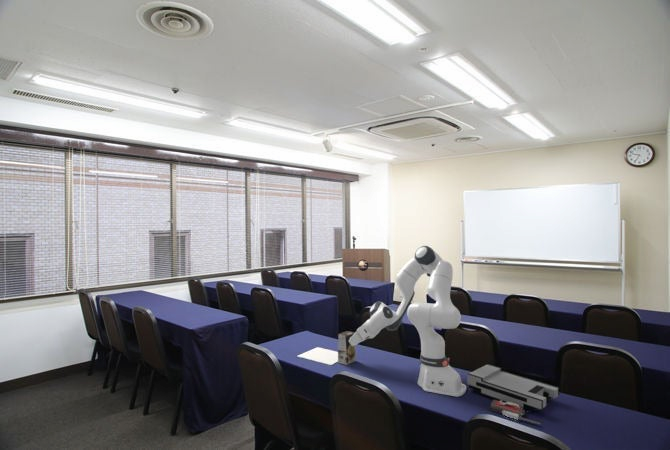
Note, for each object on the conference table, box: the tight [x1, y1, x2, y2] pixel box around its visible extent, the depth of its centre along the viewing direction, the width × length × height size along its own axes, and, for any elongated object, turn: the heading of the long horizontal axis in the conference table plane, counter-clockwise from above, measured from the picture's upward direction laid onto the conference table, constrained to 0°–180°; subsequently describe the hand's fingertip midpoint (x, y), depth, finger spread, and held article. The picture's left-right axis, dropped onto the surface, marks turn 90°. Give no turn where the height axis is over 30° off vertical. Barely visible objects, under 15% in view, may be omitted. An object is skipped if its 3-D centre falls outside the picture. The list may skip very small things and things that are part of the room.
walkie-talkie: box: [487, 400, 542, 426], centre depth 150 cm, size 9×4×20 cm
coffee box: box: [337, 330, 357, 366], centre depth 208 cm, size 9×6×16 cm
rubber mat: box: [296, 346, 338, 366], centre depth 217 cm, size 24×20×1 cm
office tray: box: [466, 363, 560, 413], centre depth 167 cm, size 21×32×8 cm, turn 42°
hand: (353, 344), depth 206 cm, fingers closed
